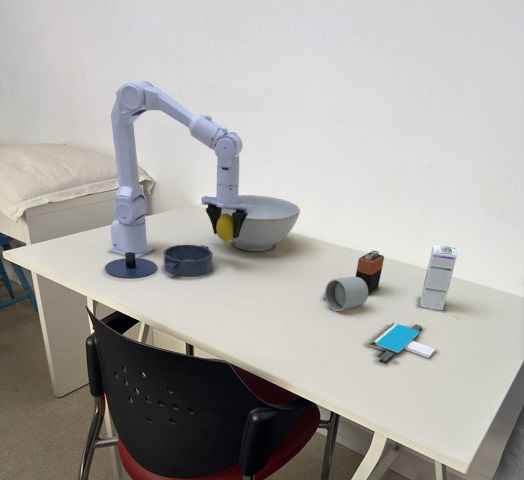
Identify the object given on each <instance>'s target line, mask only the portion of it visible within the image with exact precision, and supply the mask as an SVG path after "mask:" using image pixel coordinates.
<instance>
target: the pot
mask: <svg viewBox="0 0 524 480" xmlns="http://www.w3.org/2000/svg"><path fill="white" fill-rule="evenodd" d="M162 257H163V258H162V259H163V269H164V271H165V272H166V273H167V274H170V275H173V276H176V277H183V278H193V277H196V278H197V277H201V276H205V275H207V274H209V273H211V272H212V269H213V252H212V250H211V249H210V247H209V246H207V245H202V244H201V245H196V244H178V245H173V246H169V247H166V248H165V249H164V250H163V252H162Z"/></svg>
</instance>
